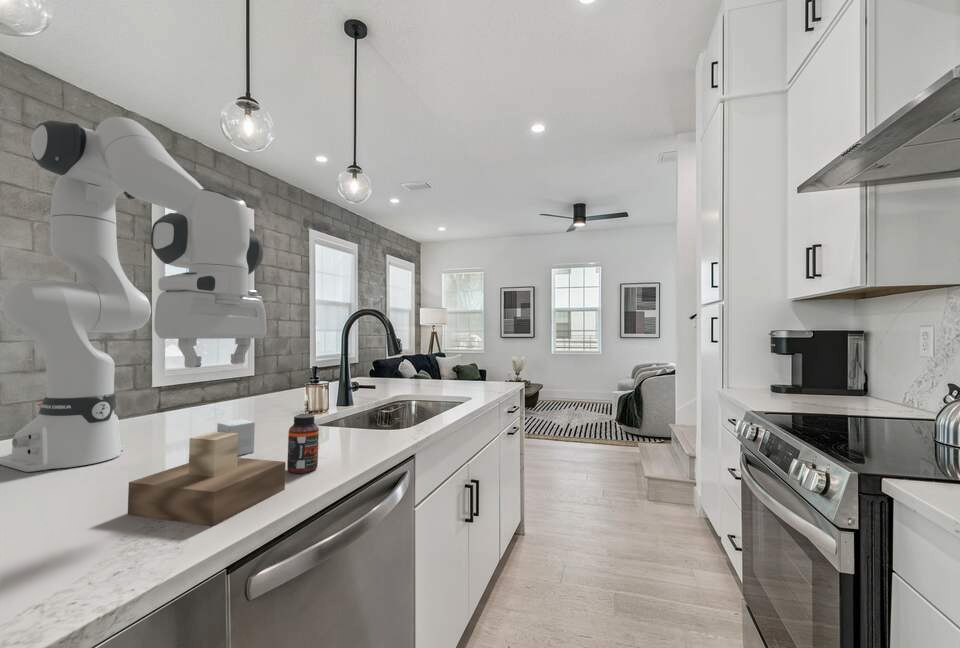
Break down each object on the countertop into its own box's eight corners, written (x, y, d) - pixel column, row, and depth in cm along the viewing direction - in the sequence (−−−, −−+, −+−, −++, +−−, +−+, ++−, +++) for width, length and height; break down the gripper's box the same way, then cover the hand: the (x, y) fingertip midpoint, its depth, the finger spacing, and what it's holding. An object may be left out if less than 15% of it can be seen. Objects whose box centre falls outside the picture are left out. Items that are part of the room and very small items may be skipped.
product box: (254, 452, 105) (255, 421, 105) (227, 458, 100) (228, 425, 100) (242, 448, 108) (243, 418, 108) (215, 453, 103) (216, 422, 103)
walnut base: (127, 514, 68) (128, 482, 68) (211, 481, 84) (212, 455, 84) (213, 526, 65) (214, 491, 65) (284, 489, 80) (285, 461, 80)
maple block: (188, 474, 73) (189, 438, 73) (213, 465, 77) (214, 431, 78) (213, 477, 71) (214, 440, 72) (237, 468, 76) (238, 433, 76)
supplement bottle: (307, 475, 88) (308, 419, 89) (280, 473, 90) (282, 417, 90) (323, 466, 94) (324, 413, 95) (298, 464, 95) (299, 412, 96)
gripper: (248, 291, 86) (246, 361, 86) (148, 277, 66) (144, 369, 66) (276, 291, 85) (274, 362, 84) (182, 277, 65) (179, 370, 64)
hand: (216, 365), depth 75 cm, fingers open, 8 cm apart
